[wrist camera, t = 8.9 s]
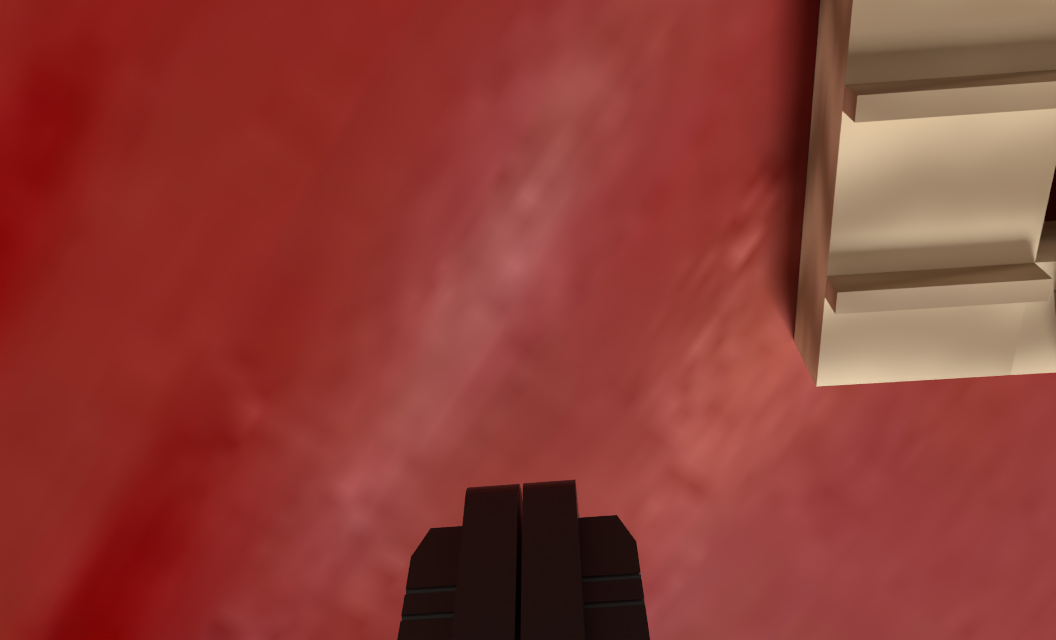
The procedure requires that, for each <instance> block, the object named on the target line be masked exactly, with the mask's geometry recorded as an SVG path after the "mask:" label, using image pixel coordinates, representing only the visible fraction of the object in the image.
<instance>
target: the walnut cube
mask: <svg viewBox="0 0 1056 640" xmlns="http://www.w3.org/2000/svg"><path fill="white" fill-rule="evenodd" d="M1054 301H1055V314H1056V290H1055V291H1054Z"/></svg>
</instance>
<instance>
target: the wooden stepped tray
mask: <svg viewBox="0 0 1056 640" xmlns="http://www.w3.org/2000/svg"><path fill="white" fill-rule="evenodd" d="M1055 167H1056V0H820V13H819V26H818V39H817V52H816V65H815V77H814V90H813V103H812V116H811V129H810V142H809V154H808V167H807V180H806V193H805V206H804V219H803V231H802V244H801V257H800V270H799V283H798V296H797V308H796V321H795V334H794V342H795V344H796V346H797V348H798V350H799V352H800V354H801V356H802V358H803V360H804V362H805V364H806V366H807V368H808V370H809V372H810V374H811V376H812V378H813V380H814V382H815V384H816V386H831V385H848V384H865V383H882V382H898V381H915V380H932V379H949V378H966V377H983V376H1000V375H1017V374H1034V373H1050V372H1056V314H1055V301H1054V291H1055V290H1056V221H1044V217H1045V213H1046V208H1047V204H1048V199H1049V194H1050V190H1051V185H1052V181H1053V176H1054V171H1055Z"/></svg>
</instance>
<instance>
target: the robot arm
mask: <svg viewBox="0 0 1056 640" xmlns="http://www.w3.org/2000/svg"><path fill="white" fill-rule="evenodd" d="M398 640H650V637H649V630H648V622H647V615H646V608H645V603H644V594H643V587H642V580H641V573H640V566H639V559H638V551H637V544H636V541H635V539H634V538H633V537H632V535H631V534H630V533H629V531H628V530H627V528H626V527H625V526H624V524H623V523H622V522H621V520H620V519H619V518H618V516H617V515H612V516H598V517H584V518H579V514H578V503H577V492H576V482H575V480H565V481H551V482H537V483H524V484H523V500H522V493H521V488H520V484H512V485H498V486H484V487H470V488H467V490H466V496H465V506H464V516H463V526H457V527H443V528H431V529H430V530H429V532H428V533H427V535H426V536H425V537H424V539H423V540H422V542H421V543H420V545H419V546H418V548H417V549H416V551H415V552H414V553H413V555H412V556H411V560H410V567H409V573H408V579H407V585H406V595H405V597H404V603H403V609H402V621H401V622H400V627H399V634H398Z"/></svg>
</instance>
